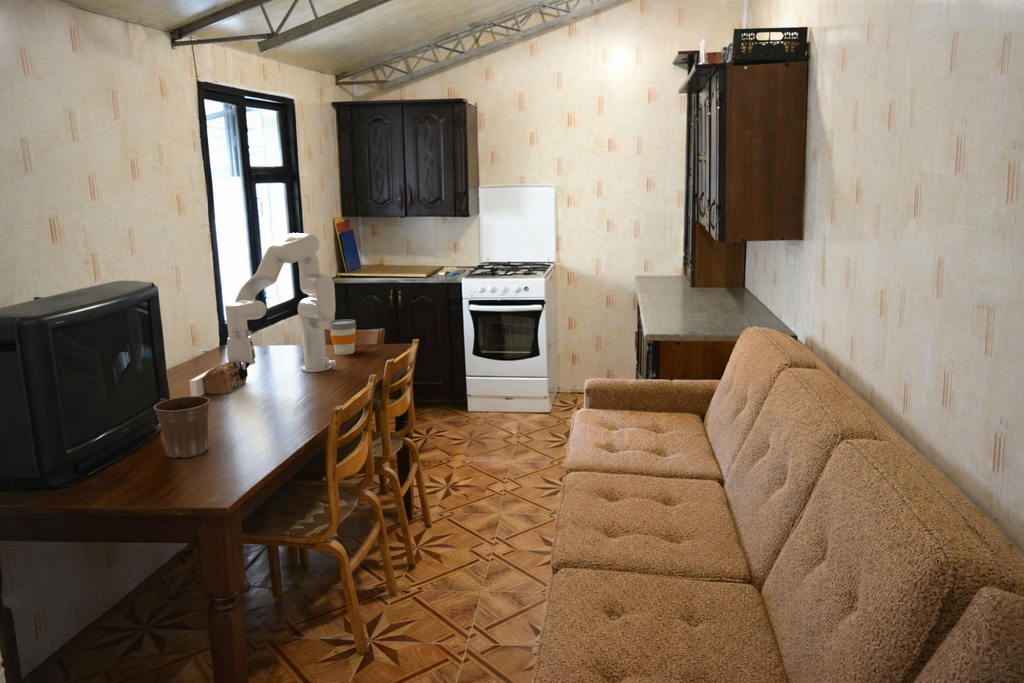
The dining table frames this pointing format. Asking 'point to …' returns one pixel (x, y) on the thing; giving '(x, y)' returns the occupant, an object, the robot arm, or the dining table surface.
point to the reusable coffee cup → (343, 336)
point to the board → (198, 385)
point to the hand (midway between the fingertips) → (243, 378)
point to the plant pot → (184, 425)
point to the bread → (222, 379)
